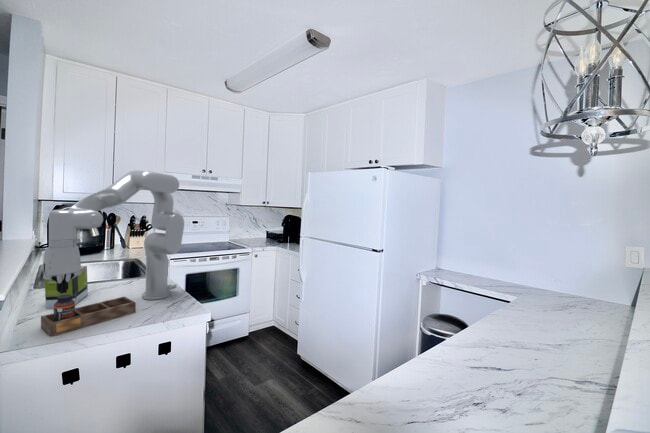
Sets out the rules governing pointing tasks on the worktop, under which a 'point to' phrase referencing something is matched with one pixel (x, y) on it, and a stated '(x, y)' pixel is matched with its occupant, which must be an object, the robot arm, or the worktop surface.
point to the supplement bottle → (64, 308)
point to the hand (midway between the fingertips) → (62, 292)
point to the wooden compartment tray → (89, 315)
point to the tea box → (75, 288)
